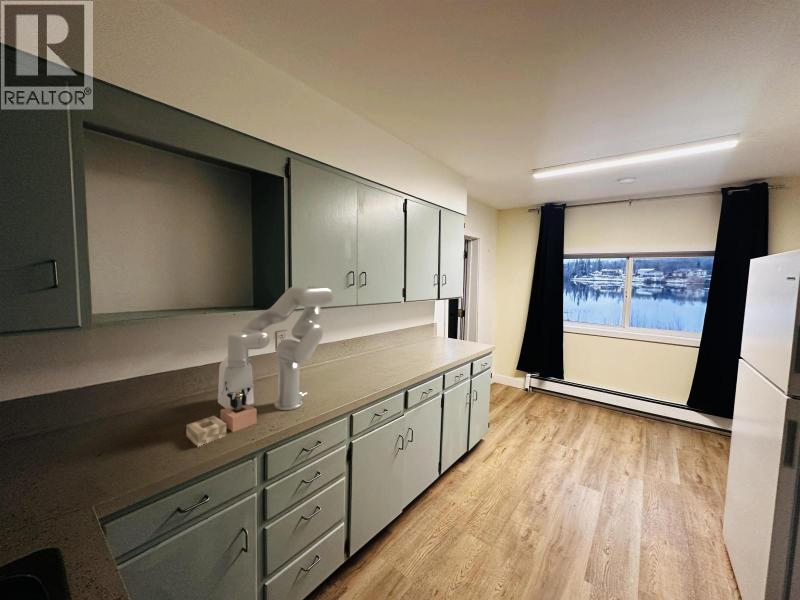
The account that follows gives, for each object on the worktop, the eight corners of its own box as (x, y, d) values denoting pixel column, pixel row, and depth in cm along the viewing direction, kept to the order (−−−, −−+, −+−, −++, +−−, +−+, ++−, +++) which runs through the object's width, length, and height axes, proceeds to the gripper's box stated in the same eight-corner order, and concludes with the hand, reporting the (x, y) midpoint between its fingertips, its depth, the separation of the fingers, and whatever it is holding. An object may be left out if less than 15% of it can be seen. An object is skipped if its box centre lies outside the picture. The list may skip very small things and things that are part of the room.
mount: (214, 427, 132) (214, 415, 131) (226, 436, 126) (226, 423, 125) (186, 437, 124) (186, 424, 123) (198, 447, 118) (197, 434, 117)
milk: (217, 402, 154) (216, 349, 151) (242, 395, 163) (242, 345, 160) (228, 410, 147) (228, 354, 144) (253, 403, 155) (253, 350, 152)
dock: (244, 415, 143) (244, 402, 142) (256, 422, 137) (256, 409, 136) (220, 423, 135) (220, 410, 134) (232, 432, 129) (232, 417, 128)
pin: (240, 415, 138) (240, 391, 137) (244, 418, 136) (244, 393, 135) (232, 418, 135) (231, 393, 134) (236, 421, 133) (236, 396, 132)
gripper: (252, 356, 142) (252, 397, 144) (212, 365, 128) (213, 409, 130) (262, 360, 137) (261, 402, 139) (221, 369, 124) (222, 415, 126)
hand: (238, 405), depth 135 cm, fingers closed on pin, 3 cm apart
